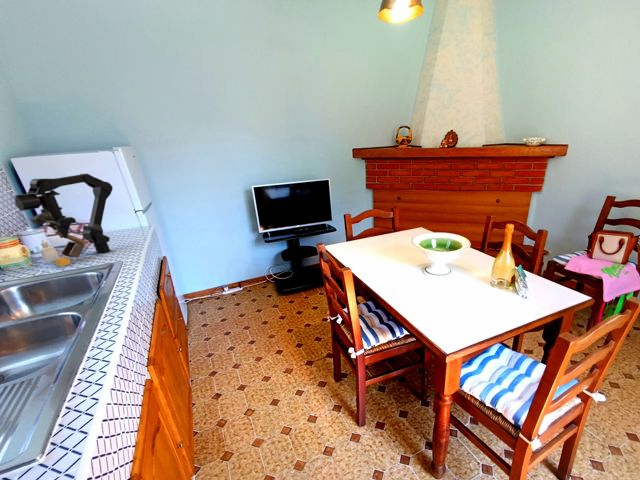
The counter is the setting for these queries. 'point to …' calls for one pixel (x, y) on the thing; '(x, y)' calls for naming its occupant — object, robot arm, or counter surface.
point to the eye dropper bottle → (48, 252)
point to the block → (62, 261)
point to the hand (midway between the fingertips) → (64, 237)
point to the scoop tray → (72, 245)
